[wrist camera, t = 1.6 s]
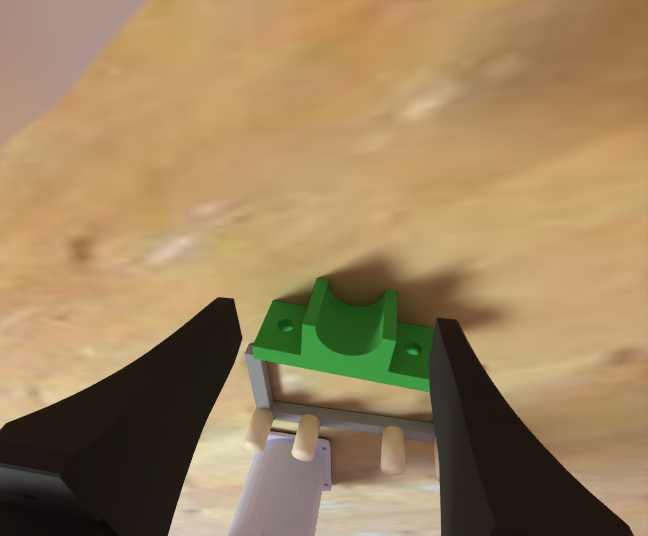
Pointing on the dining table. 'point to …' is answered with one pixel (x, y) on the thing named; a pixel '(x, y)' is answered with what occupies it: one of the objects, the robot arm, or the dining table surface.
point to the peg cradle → (328, 424)
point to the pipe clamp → (347, 339)
